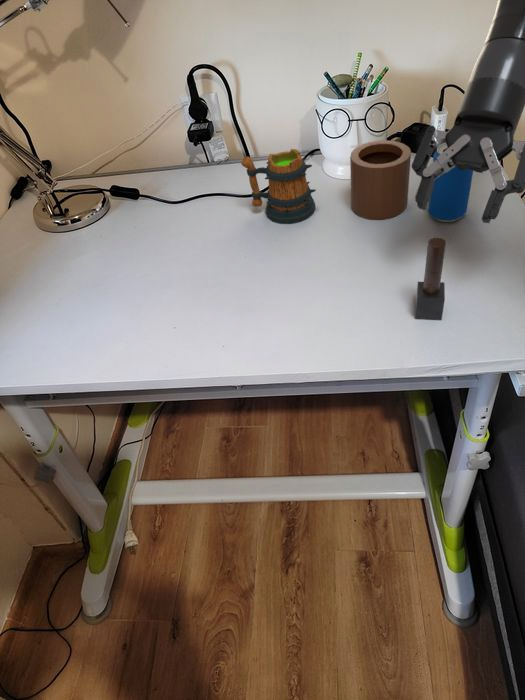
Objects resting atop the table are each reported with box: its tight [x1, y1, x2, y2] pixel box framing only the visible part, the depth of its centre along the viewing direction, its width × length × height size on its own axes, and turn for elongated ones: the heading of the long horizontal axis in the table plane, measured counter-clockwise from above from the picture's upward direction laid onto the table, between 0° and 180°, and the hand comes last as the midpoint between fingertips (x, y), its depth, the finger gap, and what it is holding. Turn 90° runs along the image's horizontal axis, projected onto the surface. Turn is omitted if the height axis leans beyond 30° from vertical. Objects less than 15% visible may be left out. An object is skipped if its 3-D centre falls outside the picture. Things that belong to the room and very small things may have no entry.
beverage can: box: [427, 141, 474, 223], centre depth 86 cm, size 6×6×12 cm
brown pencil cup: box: [349, 139, 412, 221], centre depth 91 cm, size 10×10×10 cm
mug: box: [240, 148, 317, 225], centre depth 94 cm, size 13×10×12 cm
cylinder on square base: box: [414, 236, 447, 321], centre depth 69 cm, size 4×4×12 cm
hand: (452, 214), depth 67 cm, fingers open, 8 cm apart
